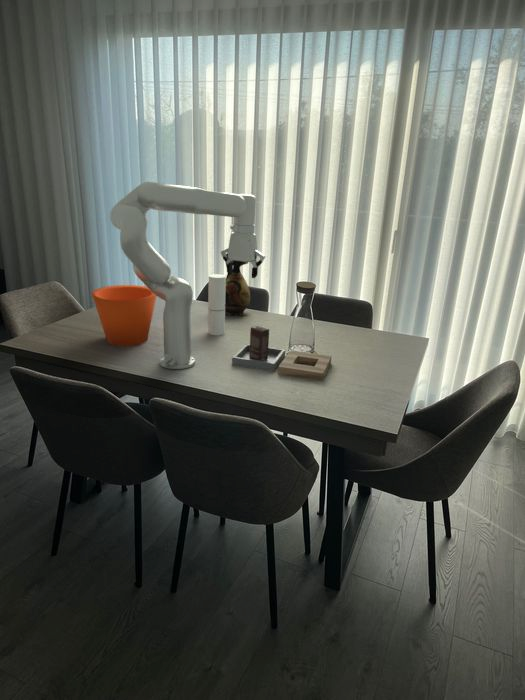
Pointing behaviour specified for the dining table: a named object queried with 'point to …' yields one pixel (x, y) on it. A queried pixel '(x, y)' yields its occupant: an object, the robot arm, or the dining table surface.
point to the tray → (270, 364)
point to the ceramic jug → (236, 291)
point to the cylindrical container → (216, 304)
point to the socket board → (305, 365)
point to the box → (259, 343)
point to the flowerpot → (125, 313)
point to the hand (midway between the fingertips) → (241, 276)
